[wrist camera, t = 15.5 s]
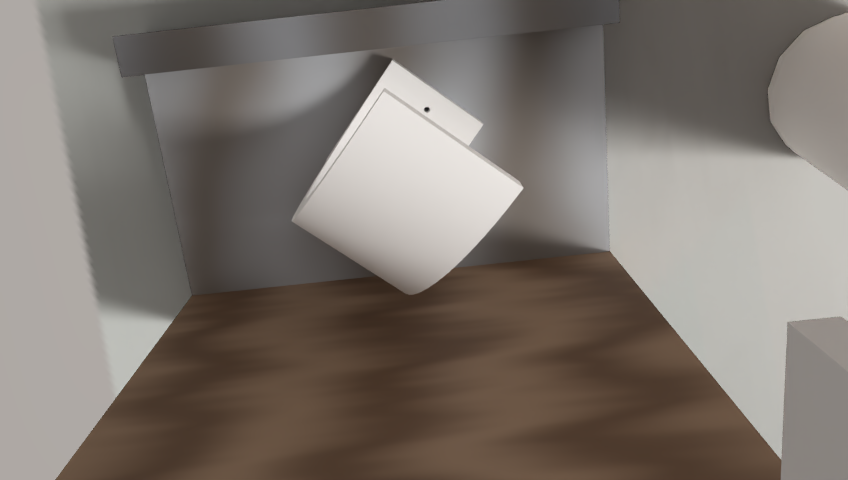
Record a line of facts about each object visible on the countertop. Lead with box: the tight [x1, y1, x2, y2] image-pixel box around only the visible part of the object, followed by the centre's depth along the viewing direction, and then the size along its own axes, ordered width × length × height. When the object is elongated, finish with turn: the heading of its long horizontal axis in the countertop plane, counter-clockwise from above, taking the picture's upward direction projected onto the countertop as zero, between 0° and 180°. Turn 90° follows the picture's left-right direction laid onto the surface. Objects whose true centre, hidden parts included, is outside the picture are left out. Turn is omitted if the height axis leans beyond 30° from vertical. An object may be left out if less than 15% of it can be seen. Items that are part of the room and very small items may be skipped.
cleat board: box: [56, 0, 781, 480], centre depth 23 cm, size 19×14×20 cm
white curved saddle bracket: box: [292, 59, 523, 295], centre depth 26 cm, size 5×6×12 cm
